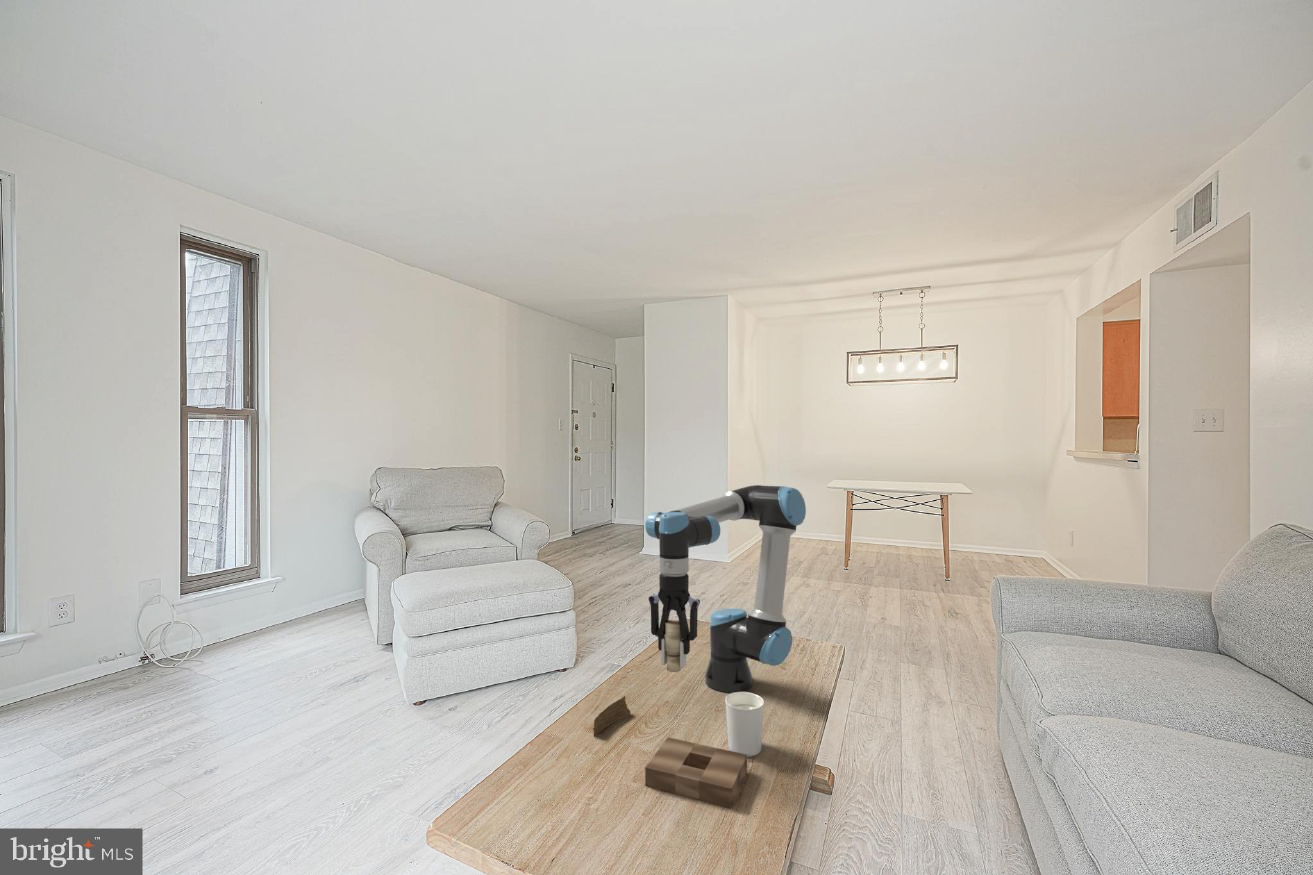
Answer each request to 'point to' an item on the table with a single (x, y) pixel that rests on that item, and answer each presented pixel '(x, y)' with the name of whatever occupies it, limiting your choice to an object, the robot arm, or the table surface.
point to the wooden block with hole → (697, 771)
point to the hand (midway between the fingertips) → (673, 664)
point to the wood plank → (611, 715)
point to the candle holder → (744, 722)
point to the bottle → (673, 644)
